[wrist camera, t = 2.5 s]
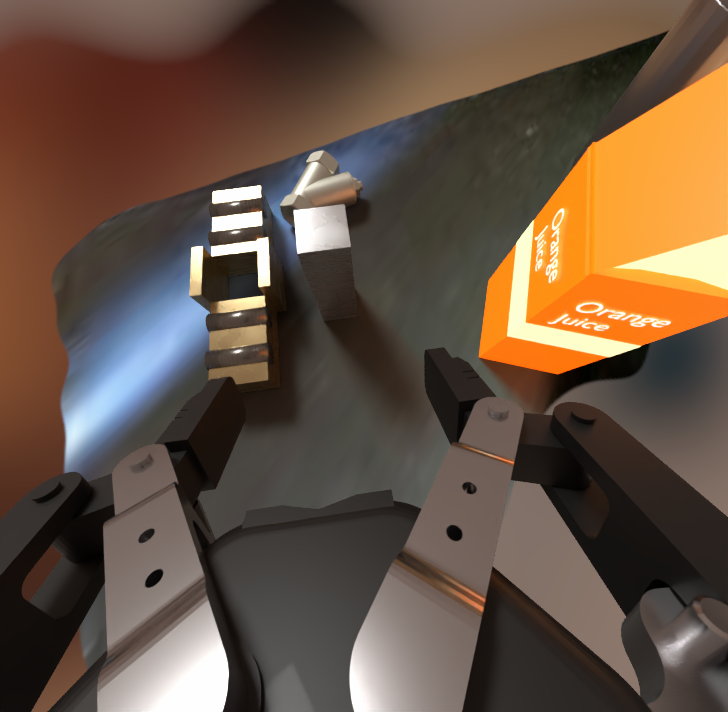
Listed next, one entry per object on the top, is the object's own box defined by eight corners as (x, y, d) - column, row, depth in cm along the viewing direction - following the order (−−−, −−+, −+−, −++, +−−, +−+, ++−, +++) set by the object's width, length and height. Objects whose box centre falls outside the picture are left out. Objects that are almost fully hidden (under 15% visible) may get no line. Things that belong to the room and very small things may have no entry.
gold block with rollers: (280, 210, 33) (264, 171, 28) (291, 385, 27) (274, 374, 22) (220, 217, 33) (194, 179, 28) (218, 395, 27) (185, 386, 22)
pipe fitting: (365, 194, 34) (314, 175, 34) (367, 165, 30) (310, 144, 31) (339, 246, 32) (285, 225, 32) (337, 222, 28) (277, 198, 29)
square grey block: (353, 286, 30) (344, 204, 19) (357, 316, 29) (350, 246, 18) (320, 291, 30) (293, 210, 19) (323, 321, 29) (297, 253, 18)
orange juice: (477, 357, 27) (727, 169, 8) (487, 279, 30) (699, -7, 11) (559, 375, 27) (1041, 215, 8) (563, 294, 29) (936, 16, 10)
